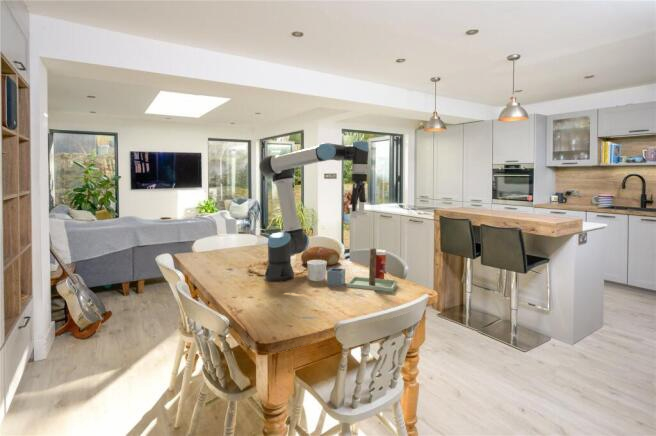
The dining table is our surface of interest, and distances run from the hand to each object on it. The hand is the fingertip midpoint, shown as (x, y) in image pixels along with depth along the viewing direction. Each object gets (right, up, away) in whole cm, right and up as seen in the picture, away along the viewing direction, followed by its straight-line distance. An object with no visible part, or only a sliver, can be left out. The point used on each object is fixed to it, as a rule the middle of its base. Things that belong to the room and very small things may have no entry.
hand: (357, 216), depth 194 cm
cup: (-20, -33, +8) cm, 40 cm away
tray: (+7, -34, -2) cm, 35 cm away
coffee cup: (+12, -33, +13) cm, 37 cm away
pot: (-11, -34, -1) cm, 36 cm away
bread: (-19, -29, +46) cm, 57 cm away
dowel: (+7, -33, -3) cm, 34 cm away
